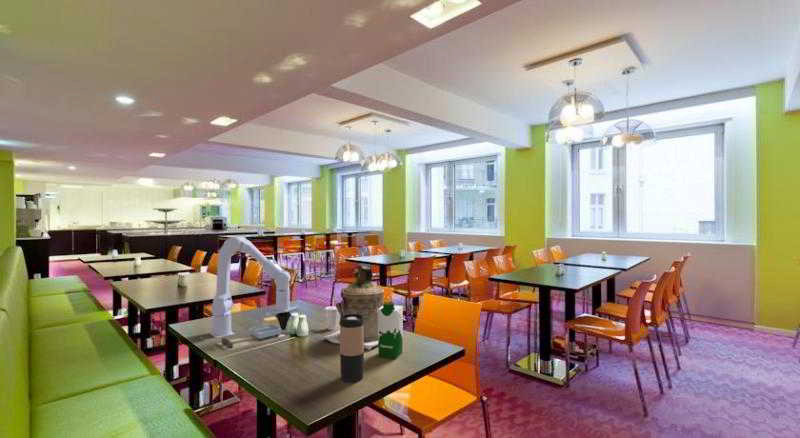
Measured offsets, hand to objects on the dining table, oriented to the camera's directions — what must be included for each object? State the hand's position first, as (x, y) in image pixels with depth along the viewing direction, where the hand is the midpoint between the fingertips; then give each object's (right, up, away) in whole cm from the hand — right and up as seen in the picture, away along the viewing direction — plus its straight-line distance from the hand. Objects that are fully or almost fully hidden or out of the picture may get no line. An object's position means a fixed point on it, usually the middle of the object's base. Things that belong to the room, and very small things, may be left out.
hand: (283, 329), depth 174 cm
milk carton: (+48, -2, -26) cm, 55 cm away
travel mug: (+36, -3, -47) cm, 59 cm away
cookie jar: (+36, -2, -6) cm, 36 cm away
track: (-10, -2, -9) cm, 14 cm away
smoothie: (+21, -2, +7) cm, 22 cm away
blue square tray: (-6, -2, -6) cm, 8 cm away
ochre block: (-8, -2, +6) cm, 10 cm away
